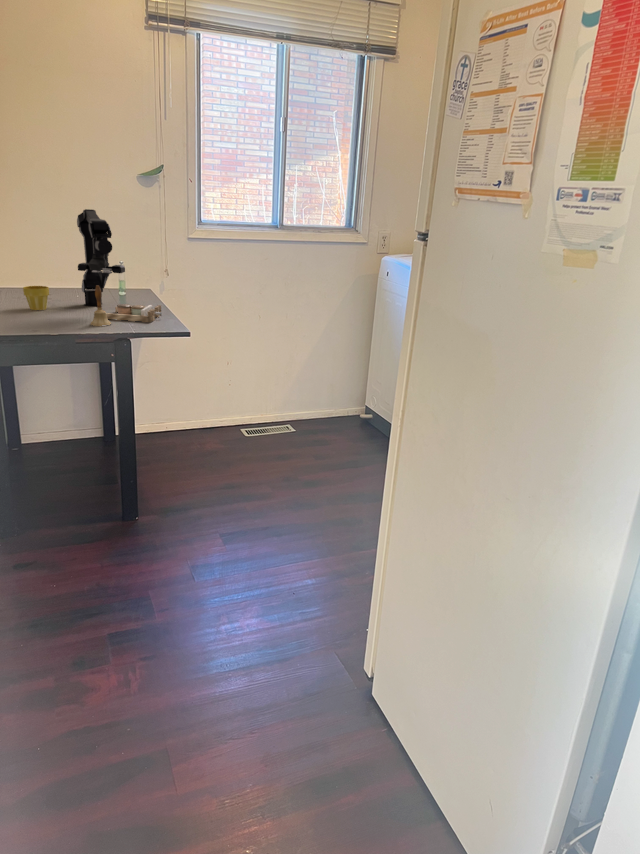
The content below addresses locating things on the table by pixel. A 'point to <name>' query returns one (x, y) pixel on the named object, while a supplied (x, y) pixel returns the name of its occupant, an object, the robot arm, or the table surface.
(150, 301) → the table surface
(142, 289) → the table surface
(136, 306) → the stock jar
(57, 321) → the table surface
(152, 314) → the lane
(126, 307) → the jar
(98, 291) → the hand bell
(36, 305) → the plant pot
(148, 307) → the peg stand
